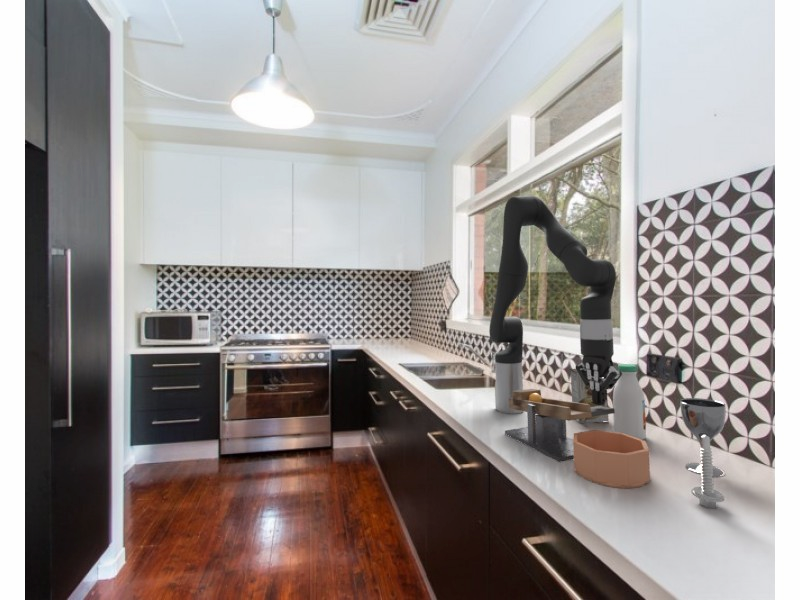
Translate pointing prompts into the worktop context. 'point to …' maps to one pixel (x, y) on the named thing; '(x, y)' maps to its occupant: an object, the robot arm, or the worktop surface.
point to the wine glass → (703, 423)
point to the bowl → (611, 459)
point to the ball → (535, 397)
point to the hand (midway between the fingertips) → (598, 404)
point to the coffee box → (585, 397)
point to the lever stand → (545, 436)
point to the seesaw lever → (556, 406)
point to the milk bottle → (629, 403)
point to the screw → (707, 478)
